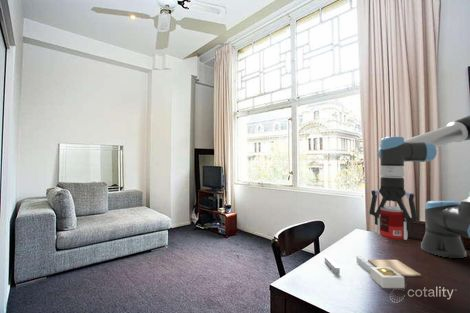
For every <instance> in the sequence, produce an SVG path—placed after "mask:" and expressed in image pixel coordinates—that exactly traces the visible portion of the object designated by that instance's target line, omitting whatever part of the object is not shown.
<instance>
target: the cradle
mask: <svg viewBox="0 0 470 313" xmlns="http://www.w3.org/2000/svg"><path fill="white" fill-rule="evenodd" d="M324 263H325V265H326V266H327V267H328V269H330V270H331V271H332V272H333V274H334V275H335V276H341V275H340V273H341V271H340V269H341V268H340V267H339V265H338V264H336V262H334V261H333V259H332V258H330V256H329V255H328V256H327V255H324ZM356 263H357V264H358V265H359V266H360V267H362V269H364V270H365V271H366V272H367V273H369V274H370V267H374V265H372V264H371V263H370V262H368V260H366V259H365V258H363V257H362V256H360V255H356Z"/></svg>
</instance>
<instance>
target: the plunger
mask: <svg viewBox="0 0 470 313" xmlns="http://www.w3.org/2000/svg"><path fill="white" fill-rule="evenodd" d="M380 273H382V274H383V275H394V272H393V271H392V270H391V269H388V268H380Z"/></svg>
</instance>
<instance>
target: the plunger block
mask: <svg viewBox="0 0 470 313" xmlns="http://www.w3.org/2000/svg"><path fill="white" fill-rule="evenodd" d="M380 268H388V269H391V270H392V271H393V272H394V275H383V274H382V273H380ZM369 275H370V276H369V277H370V278H371V279H372V280H373V281H374V282H375V283H377V284H378V285H379V286H380V287H381V288H382V289H405V276H402V275H400V274H399V273H397V272H396V271H395V270H393V269H392V268H390V267H375V266H373V267H370V273H369Z"/></svg>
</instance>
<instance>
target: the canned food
mask: <svg viewBox="0 0 470 313" xmlns="http://www.w3.org/2000/svg"><path fill="white" fill-rule="evenodd" d="M379 216H380V233H381V234H380V235H381V237H383V238H386V239H388V240H396V241H399V240H404V221H405V220H406V219H405V217H404V215H403V210H401V209H400V207H399V206H391V205H384V207H383V208H382V207H380V215H379Z"/></svg>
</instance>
